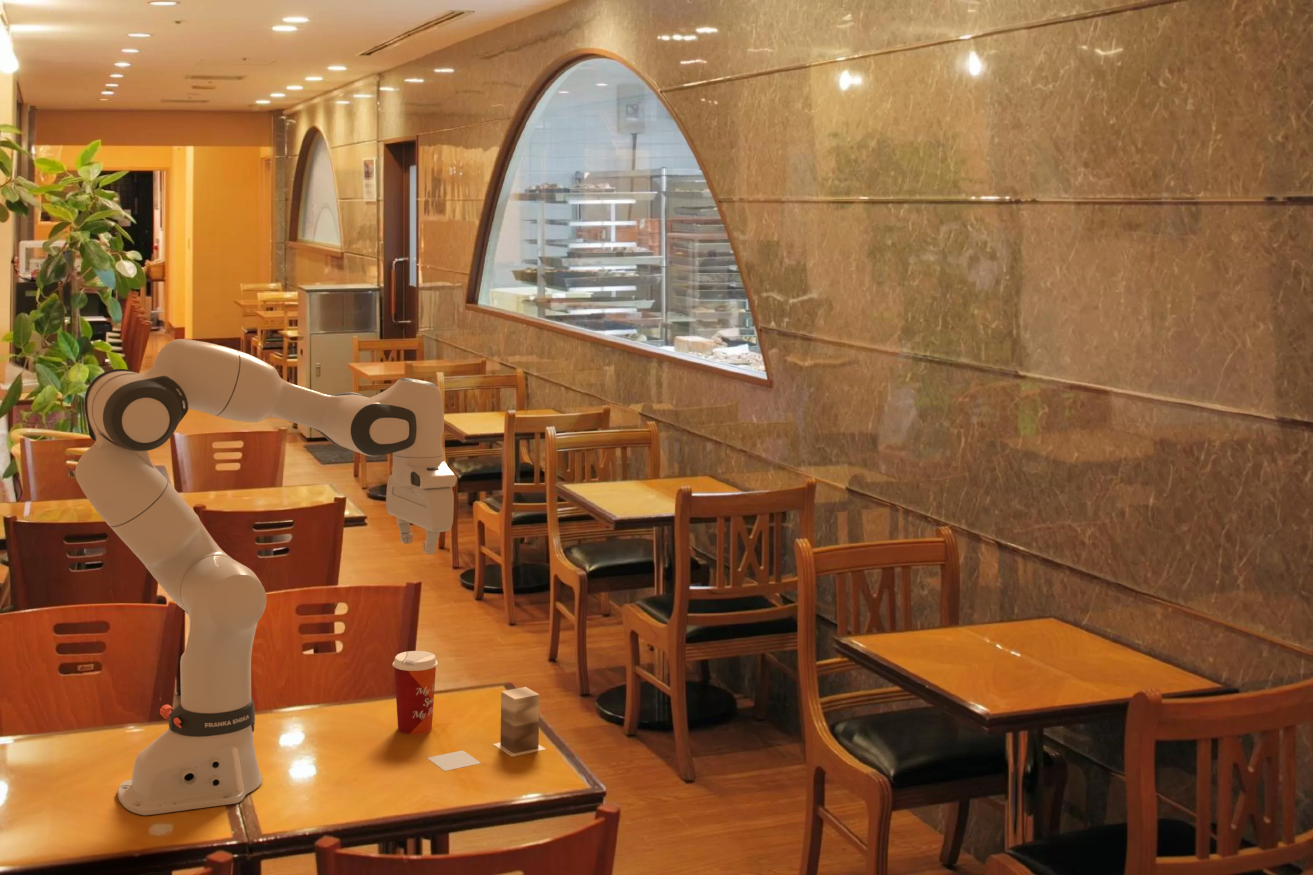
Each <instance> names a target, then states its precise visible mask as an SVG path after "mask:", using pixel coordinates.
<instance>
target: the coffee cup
mask: <svg viewBox="0 0 1313 875" xmlns="http://www.w3.org/2000/svg"><path fill="white" fill-rule="evenodd" d="M438 665H439V662H438V660H437V659H436V655H435V654H434V653H432V652H429V651H424V650H411V651H410V650H409V651H404V652H400V653H397V655H396V656H395V657H394V661H393V662H392V667H393V668H394V679H395V680H394V682H395V685H394V686H395V697H396V698H395V699H396V700H395V701H396V702H395V703H396V715H397V718H396V719H397V730H398V731H399V733H402V734H406V735H422V734H426V733H428V732H430V731H431V730H432V727H433V716H434V703H435V702H434V699H435V689H436V688H435V687H436V686H435V685H436V674H437V673H436V671H437V669H436V668H437V666H438Z"/></svg>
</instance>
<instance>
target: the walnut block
mask: <svg viewBox="0 0 1313 875" xmlns="http://www.w3.org/2000/svg"><path fill="white" fill-rule="evenodd" d="M539 728H540V721H539V722H534V723H529V724H524V725H519V726H513V725H511V724H510V723H508V722H506V721H505V720H503V719H502V718H501V717H500V741H499V743H500V745H501V746H503V747H505V748H506V749H508V750H509V751H511V752H512V753H514V754H515V753H519V752H524V751H529V750H533V749H538V746H539V745H540V744H539V741H540V738H539V737H540V736H539V734H540V729H539Z"/></svg>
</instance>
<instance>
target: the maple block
mask: <svg viewBox="0 0 1313 875" xmlns="http://www.w3.org/2000/svg"><path fill="white" fill-rule="evenodd" d="M500 695H501V696H500V700H501V701H500V719H501V718H502V719H503V720H505V721H506V722H508V723H510V724H511V725H513V726H519V725H524V724H529V723H534V722H539V723H540V694H539V693H538V692H536V691H533V690H532V689H530V688H529V687H527V686H523V687H517V688H512V689H507V690H501V693H500Z"/></svg>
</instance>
